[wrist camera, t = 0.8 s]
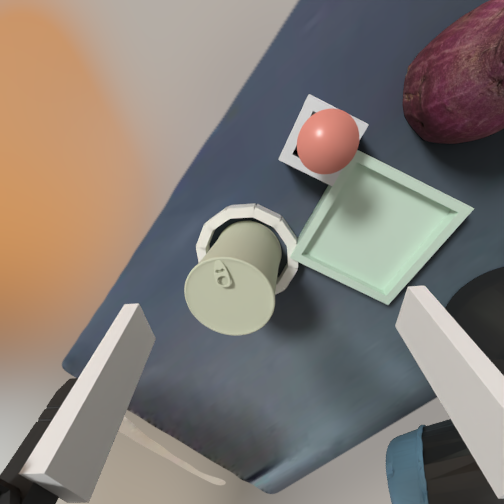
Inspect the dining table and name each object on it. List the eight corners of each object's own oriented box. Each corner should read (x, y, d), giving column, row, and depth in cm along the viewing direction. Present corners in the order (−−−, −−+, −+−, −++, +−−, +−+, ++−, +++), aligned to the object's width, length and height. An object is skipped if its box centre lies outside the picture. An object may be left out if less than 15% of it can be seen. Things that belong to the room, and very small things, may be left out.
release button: (353, 129, 24) (372, 125, 18) (328, 175, 26) (337, 184, 20) (310, 108, 24) (315, 96, 18) (288, 155, 25) (286, 158, 20)
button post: (356, 127, 27) (368, 124, 22) (326, 179, 29) (332, 186, 25) (306, 102, 26) (308, 94, 22) (280, 157, 29) (278, 159, 24)
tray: (459, 203, 28) (474, 208, 26) (381, 294, 34) (388, 305, 32) (349, 147, 27) (354, 148, 25) (290, 250, 33) (290, 258, 31)
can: (275, 215, 32) (265, 252, 21) (286, 277, 35) (282, 337, 24) (209, 225, 34) (168, 265, 23) (225, 283, 37) (196, 341, 26)
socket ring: (316, 232, 32) (317, 237, 30) (270, 307, 38) (269, 314, 36) (221, 186, 31) (217, 188, 30) (189, 269, 37) (185, 275, 36)
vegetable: (377, 115, 29) (375, 95, 16) (454, 0, 23) (541, -165, 11) (462, 162, 27) (533, 180, 14) (568, 51, 21) (831, -76, 9)
